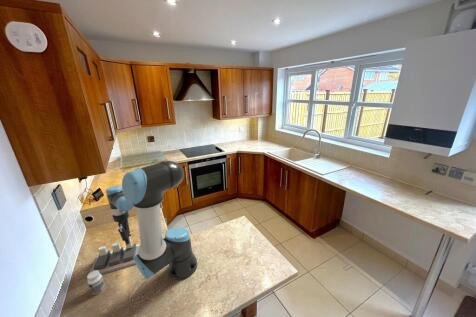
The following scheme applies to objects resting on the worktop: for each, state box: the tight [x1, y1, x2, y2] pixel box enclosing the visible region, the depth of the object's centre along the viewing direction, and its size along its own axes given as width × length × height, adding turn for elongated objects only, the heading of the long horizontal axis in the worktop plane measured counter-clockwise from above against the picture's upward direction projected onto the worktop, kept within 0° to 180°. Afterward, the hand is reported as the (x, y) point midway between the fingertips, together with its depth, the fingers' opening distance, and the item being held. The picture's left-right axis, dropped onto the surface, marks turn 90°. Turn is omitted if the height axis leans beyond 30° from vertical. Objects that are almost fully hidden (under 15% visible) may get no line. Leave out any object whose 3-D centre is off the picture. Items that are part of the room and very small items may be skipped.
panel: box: [88, 241, 141, 276], centre depth 111 cm, size 16×24×8 cm, turn 110°
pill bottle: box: [86, 270, 106, 296], centre depth 92 cm, size 6×6×10 cm
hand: (129, 247), depth 114 cm, fingers closed
